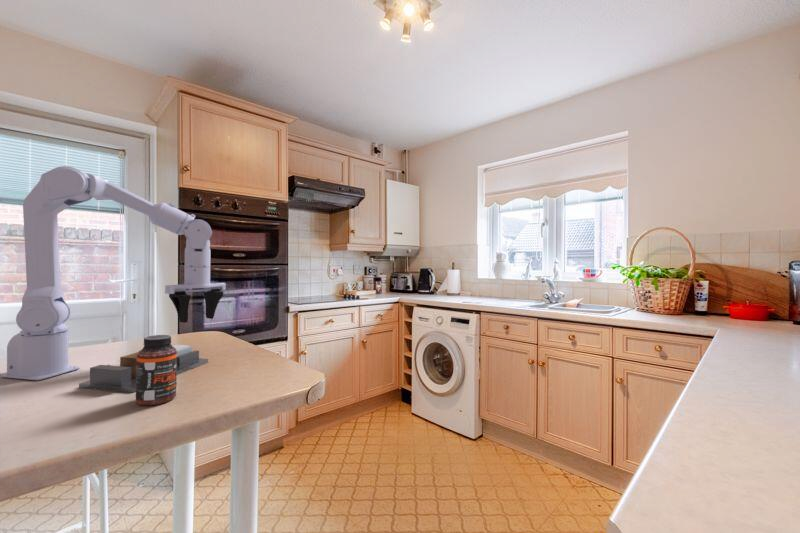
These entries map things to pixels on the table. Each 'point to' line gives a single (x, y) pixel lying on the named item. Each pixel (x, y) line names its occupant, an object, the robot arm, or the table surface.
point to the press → (121, 376)
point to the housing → (129, 363)
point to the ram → (182, 349)
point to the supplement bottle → (156, 371)
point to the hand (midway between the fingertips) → (197, 320)
